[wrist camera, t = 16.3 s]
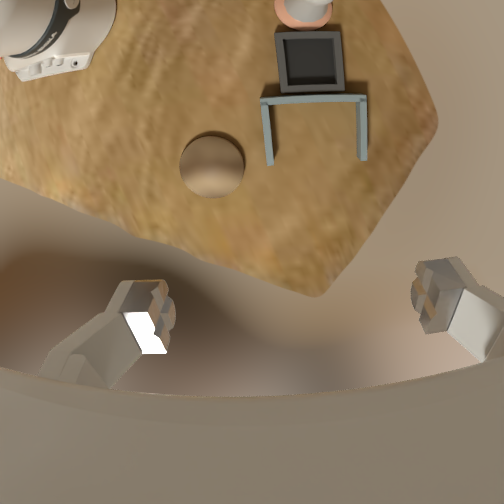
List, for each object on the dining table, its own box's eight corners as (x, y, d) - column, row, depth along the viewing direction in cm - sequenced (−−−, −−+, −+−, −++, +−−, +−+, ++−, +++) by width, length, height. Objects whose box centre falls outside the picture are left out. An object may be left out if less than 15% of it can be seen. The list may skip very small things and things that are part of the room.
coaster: (277, 32, 36) (277, 32, 35) (271, -16, 31) (271, -17, 31) (334, 31, 35) (334, 30, 34) (327, -17, 31) (328, -18, 30)
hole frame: (342, 90, 40) (344, 91, 39) (280, 92, 41) (281, 93, 40) (337, 32, 35) (339, 31, 34) (274, 34, 36) (274, 32, 35)
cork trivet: (250, 189, 49) (250, 192, 49) (191, 200, 51) (190, 203, 50) (235, 129, 44) (234, 130, 43) (173, 144, 46) (171, 146, 45)
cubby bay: (363, 156, 45) (367, 160, 44) (267, 161, 47) (267, 165, 45) (362, 93, 40) (366, 95, 38) (260, 97, 41) (259, 98, 40)
